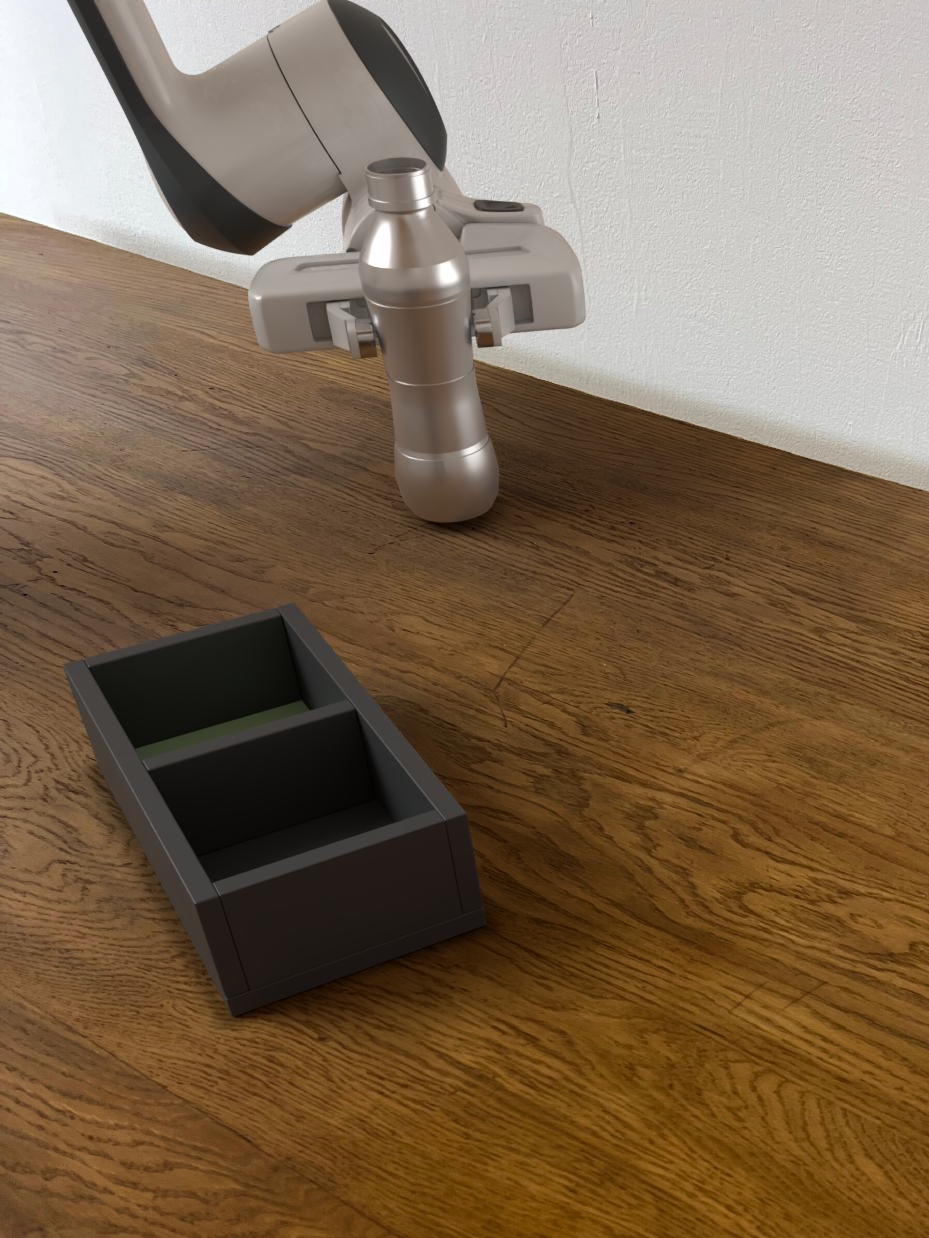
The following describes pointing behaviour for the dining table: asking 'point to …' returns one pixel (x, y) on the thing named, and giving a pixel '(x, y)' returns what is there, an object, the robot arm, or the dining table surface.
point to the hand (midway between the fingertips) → (426, 339)
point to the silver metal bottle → (426, 346)
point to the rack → (277, 804)
